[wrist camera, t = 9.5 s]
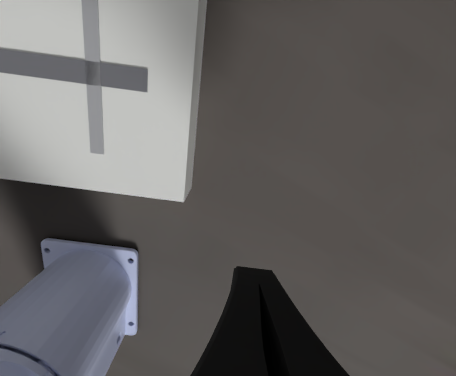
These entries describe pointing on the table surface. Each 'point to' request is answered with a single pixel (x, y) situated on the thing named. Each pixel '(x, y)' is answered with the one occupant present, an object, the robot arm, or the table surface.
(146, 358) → the table surface
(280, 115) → the table surface
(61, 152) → the white flat rectangular block
